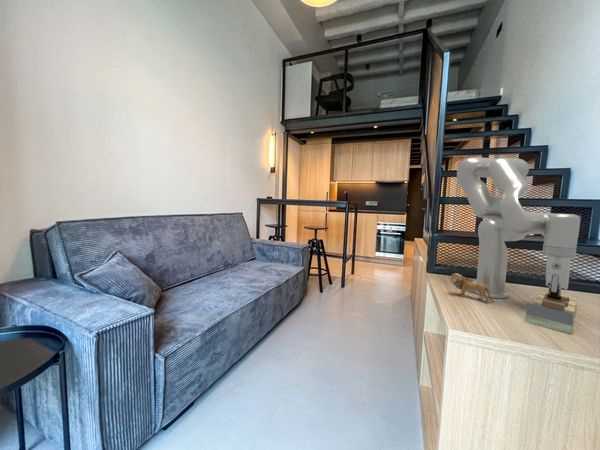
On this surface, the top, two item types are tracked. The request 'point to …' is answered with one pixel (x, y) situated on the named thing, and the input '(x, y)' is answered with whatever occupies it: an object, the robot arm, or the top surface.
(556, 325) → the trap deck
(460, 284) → the lion figurine
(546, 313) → the end stop
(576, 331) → the top surface
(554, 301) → the walnut block
